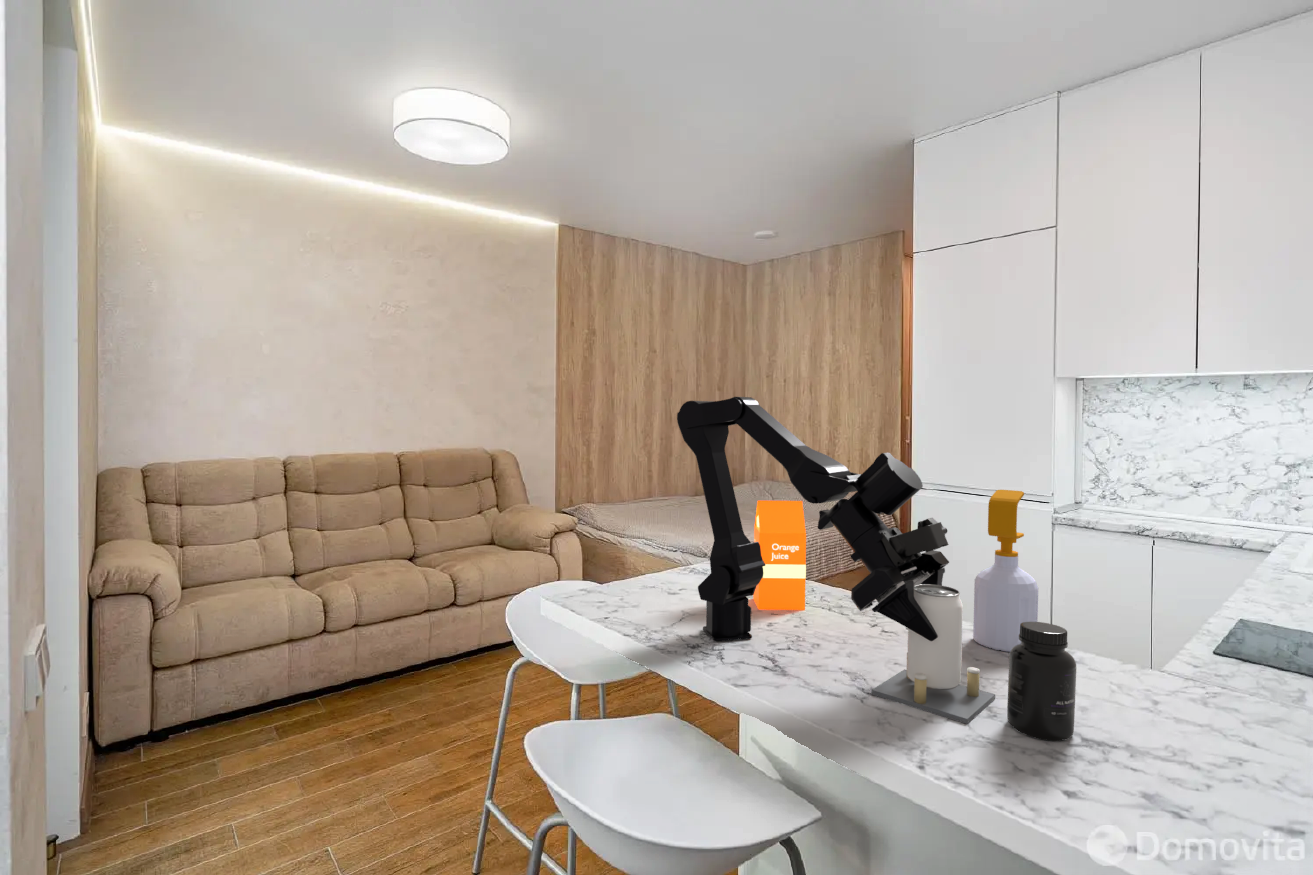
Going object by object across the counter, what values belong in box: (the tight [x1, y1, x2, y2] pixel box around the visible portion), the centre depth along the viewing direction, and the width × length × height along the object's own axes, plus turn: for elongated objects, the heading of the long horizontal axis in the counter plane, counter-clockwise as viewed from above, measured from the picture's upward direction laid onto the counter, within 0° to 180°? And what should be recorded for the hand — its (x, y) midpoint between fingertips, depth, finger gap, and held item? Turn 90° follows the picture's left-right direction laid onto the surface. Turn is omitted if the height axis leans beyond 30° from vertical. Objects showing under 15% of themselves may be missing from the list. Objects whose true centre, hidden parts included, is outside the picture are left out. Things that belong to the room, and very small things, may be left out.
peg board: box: [871, 651, 996, 725], centre depth 88 cm, size 12×10×4 cm
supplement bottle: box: [1006, 621, 1077, 742], centre depth 79 cm, size 7×7×12 cm
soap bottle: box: [972, 489, 1039, 653], centre depth 108 cm, size 9×9×25 cm
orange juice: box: [752, 500, 807, 611], centre depth 130 cm, size 8×9×20 cm
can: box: [906, 584, 964, 690], centre depth 88 cm, size 6×6×12 cm
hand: (945, 633), depth 87 cm, fingers closed on can, 6 cm apart
